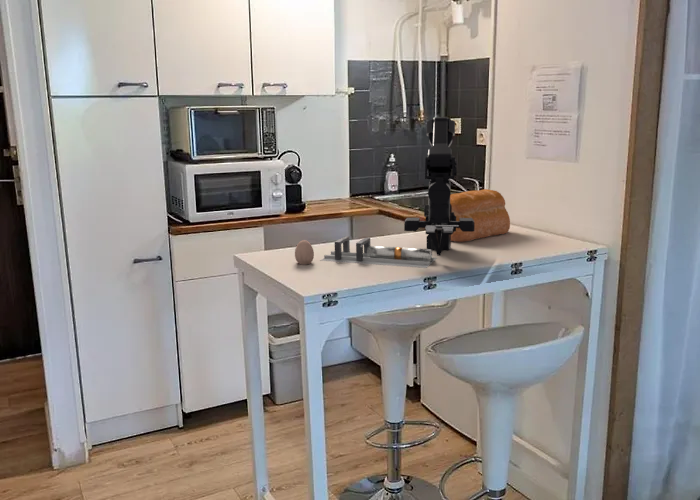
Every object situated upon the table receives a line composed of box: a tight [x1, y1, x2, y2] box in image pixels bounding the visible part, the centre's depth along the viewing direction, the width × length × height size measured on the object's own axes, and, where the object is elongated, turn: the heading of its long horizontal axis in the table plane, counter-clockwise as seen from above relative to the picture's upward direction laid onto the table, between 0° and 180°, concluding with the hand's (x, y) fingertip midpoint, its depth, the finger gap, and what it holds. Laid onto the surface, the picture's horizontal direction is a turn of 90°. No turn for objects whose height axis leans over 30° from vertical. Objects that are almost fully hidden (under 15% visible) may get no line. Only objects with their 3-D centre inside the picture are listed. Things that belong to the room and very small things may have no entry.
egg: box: [294, 239, 315, 266], centre depth 185 cm, size 5×5×7 cm
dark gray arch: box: [355, 237, 371, 261], centre depth 189 cm, size 2×8×5 cm, turn 159°
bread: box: [450, 188, 511, 243], centre depth 220 cm, size 14×26×15 cm, turn 127°
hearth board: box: [319, 250, 437, 269], centre depth 188 cm, size 31×12×2 cm, turn 69°
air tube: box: [367, 245, 433, 262], centre depth 186 cm, size 18×4×4 cm, turn 69°
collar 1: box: [334, 235, 351, 260], centre depth 191 cm, size 2×8×5 cm, turn 159°
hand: (438, 255), depth 181 cm, fingers closed
